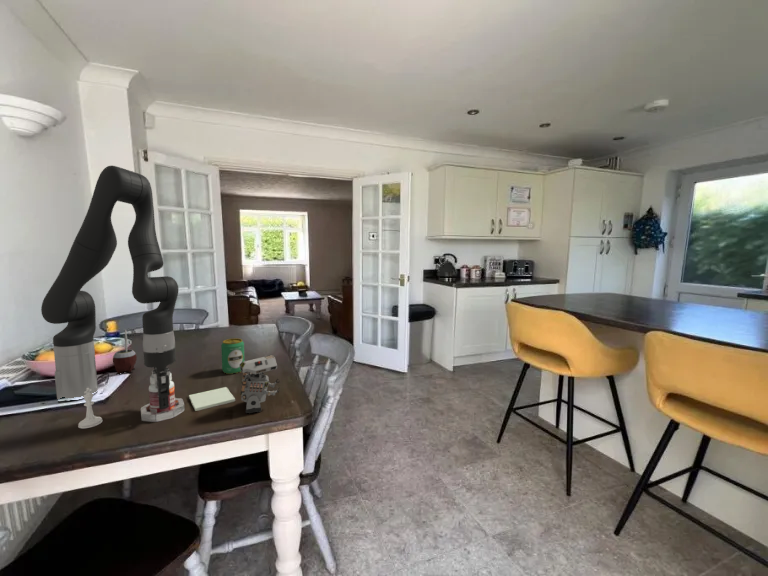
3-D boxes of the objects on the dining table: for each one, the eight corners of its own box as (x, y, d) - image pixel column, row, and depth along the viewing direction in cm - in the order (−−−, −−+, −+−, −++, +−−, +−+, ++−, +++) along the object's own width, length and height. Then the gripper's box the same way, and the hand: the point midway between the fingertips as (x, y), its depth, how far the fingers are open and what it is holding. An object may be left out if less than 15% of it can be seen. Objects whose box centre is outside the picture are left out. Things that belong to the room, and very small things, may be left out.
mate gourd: (122, 376, 122) (119, 336, 120) (107, 373, 124) (104, 334, 123) (142, 369, 129) (140, 331, 127) (128, 367, 131) (126, 329, 130)
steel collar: (142, 425, 89) (141, 418, 89) (140, 410, 97) (140, 403, 97) (186, 414, 96) (185, 407, 95) (181, 401, 104) (180, 395, 103)
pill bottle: (176, 414, 96) (174, 376, 94) (149, 419, 92) (147, 380, 91) (175, 405, 101) (173, 369, 99) (150, 410, 97) (148, 373, 96)
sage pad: (195, 411, 98) (195, 408, 97) (189, 397, 106) (189, 395, 106) (235, 401, 104) (235, 398, 104) (226, 389, 113) (226, 386, 113)
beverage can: (225, 376, 124) (224, 344, 123) (219, 369, 130) (218, 340, 129) (247, 371, 129) (246, 341, 128) (241, 365, 135) (240, 336, 134)
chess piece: (107, 419, 92) (104, 384, 91) (92, 428, 87) (89, 392, 86) (88, 418, 92) (85, 384, 91) (73, 428, 87) (69, 391, 86)
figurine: (281, 409, 100) (281, 361, 98) (239, 415, 96) (238, 365, 94) (279, 396, 108) (278, 352, 106) (241, 401, 104) (239, 355, 102)
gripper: (141, 343, 97) (145, 398, 99) (144, 356, 86) (148, 417, 88) (171, 339, 102) (174, 392, 104) (178, 351, 91) (181, 409, 93)
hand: (162, 403), depth 96 cm, fingers closed on pill bottle, 6 cm apart
